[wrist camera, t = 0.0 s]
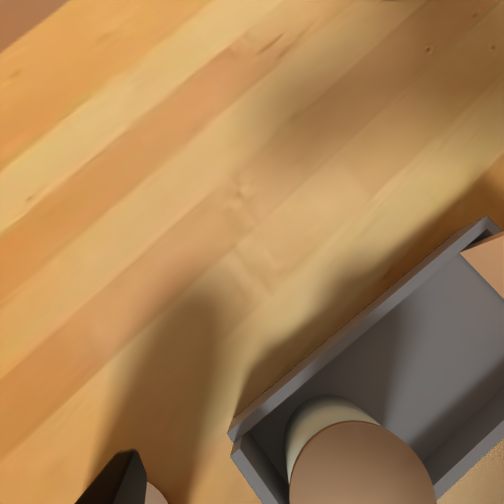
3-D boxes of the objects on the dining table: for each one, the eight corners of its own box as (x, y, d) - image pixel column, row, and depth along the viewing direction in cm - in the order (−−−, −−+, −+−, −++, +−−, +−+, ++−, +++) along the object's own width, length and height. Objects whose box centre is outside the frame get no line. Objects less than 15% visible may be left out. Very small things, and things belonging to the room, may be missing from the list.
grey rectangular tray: (564, 335, 22) (649, 338, 17) (327, 554, 20) (348, 627, 15) (459, 229, 24) (509, 203, 19) (232, 419, 22) (222, 445, 17)
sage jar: (400, 454, 20) (468, 518, 13) (325, 522, 20) (357, 625, 13) (335, 372, 21) (367, 393, 15) (262, 434, 21) (260, 487, 14)
